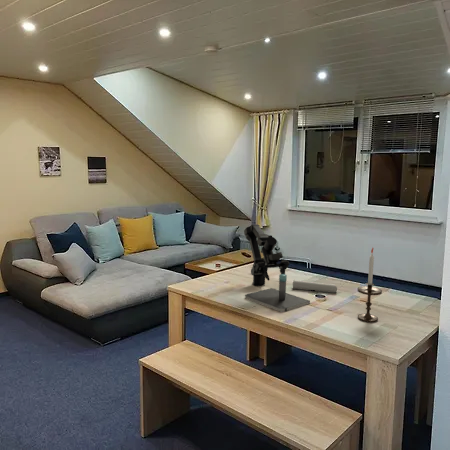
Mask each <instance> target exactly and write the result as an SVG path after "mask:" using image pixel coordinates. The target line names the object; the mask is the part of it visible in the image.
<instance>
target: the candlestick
mask: <svg viewBox="0 0 450 450" xmlns="http://www.w3.org/2000/svg"><path fill="white" fill-rule="evenodd" d="M370 252H371V254H370V255H369V261H368V276H367V277H368V279H367V282H366V283H365V285H366V286H365V285H364V286H363V285H361V286H359V287H357V289H356V290H357V292H358V293H360V294H362V295H367V300H366V302H365V305H366V307H365V310H366V313H359V314H358V315H357V320H359V321H361V322H363V323H377V322H379V318H378V316H376V315H374V314H371V313H370V312H371V310H372V308H371V307H372V304H373V303H372V302H371V299H372V297H371V296H379V295H382V293H383V290H382V289H381V288H378V287H375V284H374V283H373V276H374V261H375V260H374V259H375V256H374V247H372V248H371V251H370Z"/></svg>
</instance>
